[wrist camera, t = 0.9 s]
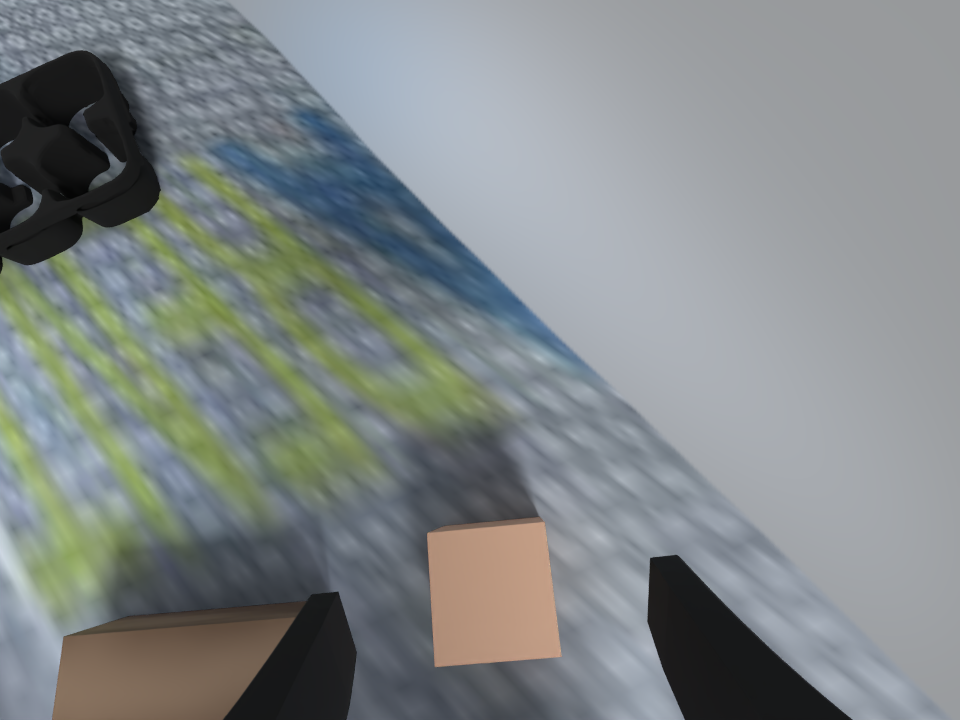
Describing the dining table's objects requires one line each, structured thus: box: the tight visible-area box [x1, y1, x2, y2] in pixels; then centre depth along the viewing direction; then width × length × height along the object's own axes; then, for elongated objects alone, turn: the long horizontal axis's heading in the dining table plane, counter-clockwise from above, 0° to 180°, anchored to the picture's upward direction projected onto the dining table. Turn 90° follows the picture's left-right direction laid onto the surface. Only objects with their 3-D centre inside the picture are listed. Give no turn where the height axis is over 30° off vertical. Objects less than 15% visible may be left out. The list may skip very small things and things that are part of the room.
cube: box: [427, 517, 561, 667], centre depth 22 cm, size 5×5×5 cm
